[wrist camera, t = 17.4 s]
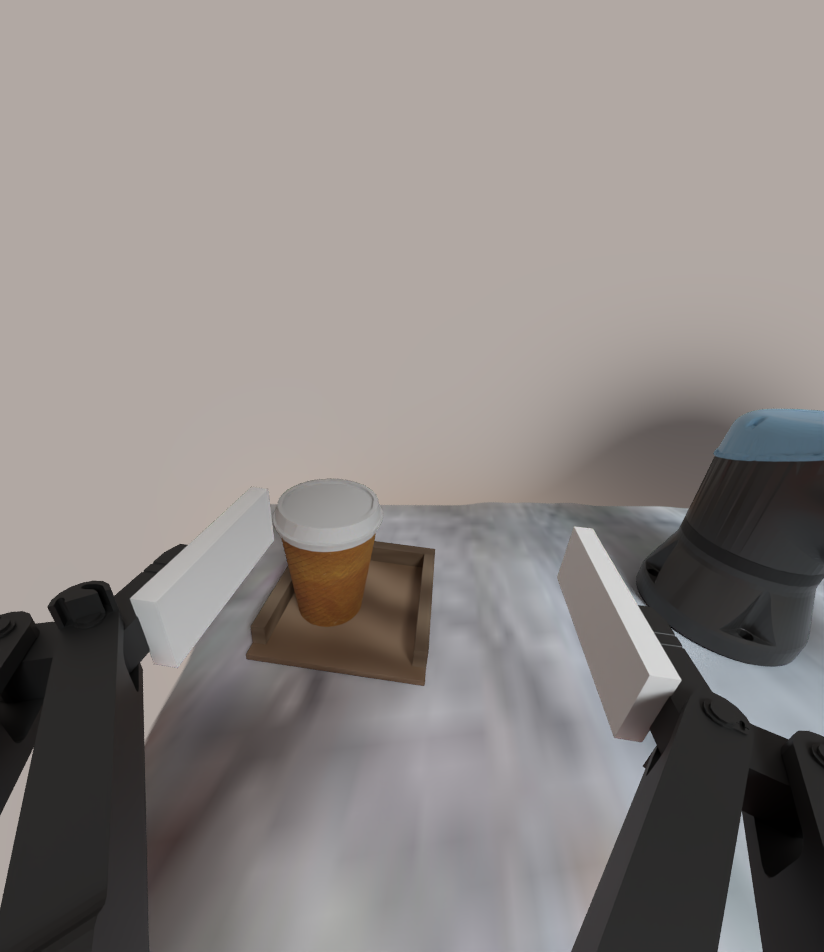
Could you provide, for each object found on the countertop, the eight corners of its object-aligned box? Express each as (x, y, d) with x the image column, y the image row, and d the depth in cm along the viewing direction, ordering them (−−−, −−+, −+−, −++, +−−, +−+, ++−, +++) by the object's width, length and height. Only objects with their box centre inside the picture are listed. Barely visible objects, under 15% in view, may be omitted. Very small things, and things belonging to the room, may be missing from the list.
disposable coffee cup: (269, 641, 32) (255, 529, 27) (294, 569, 41) (287, 473, 36) (376, 642, 33) (383, 534, 28) (378, 572, 42) (384, 478, 36)
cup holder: (424, 685, 30) (427, 665, 29) (246, 659, 31) (243, 638, 30) (432, 566, 44) (435, 549, 43) (309, 549, 45) (308, 532, 44)
